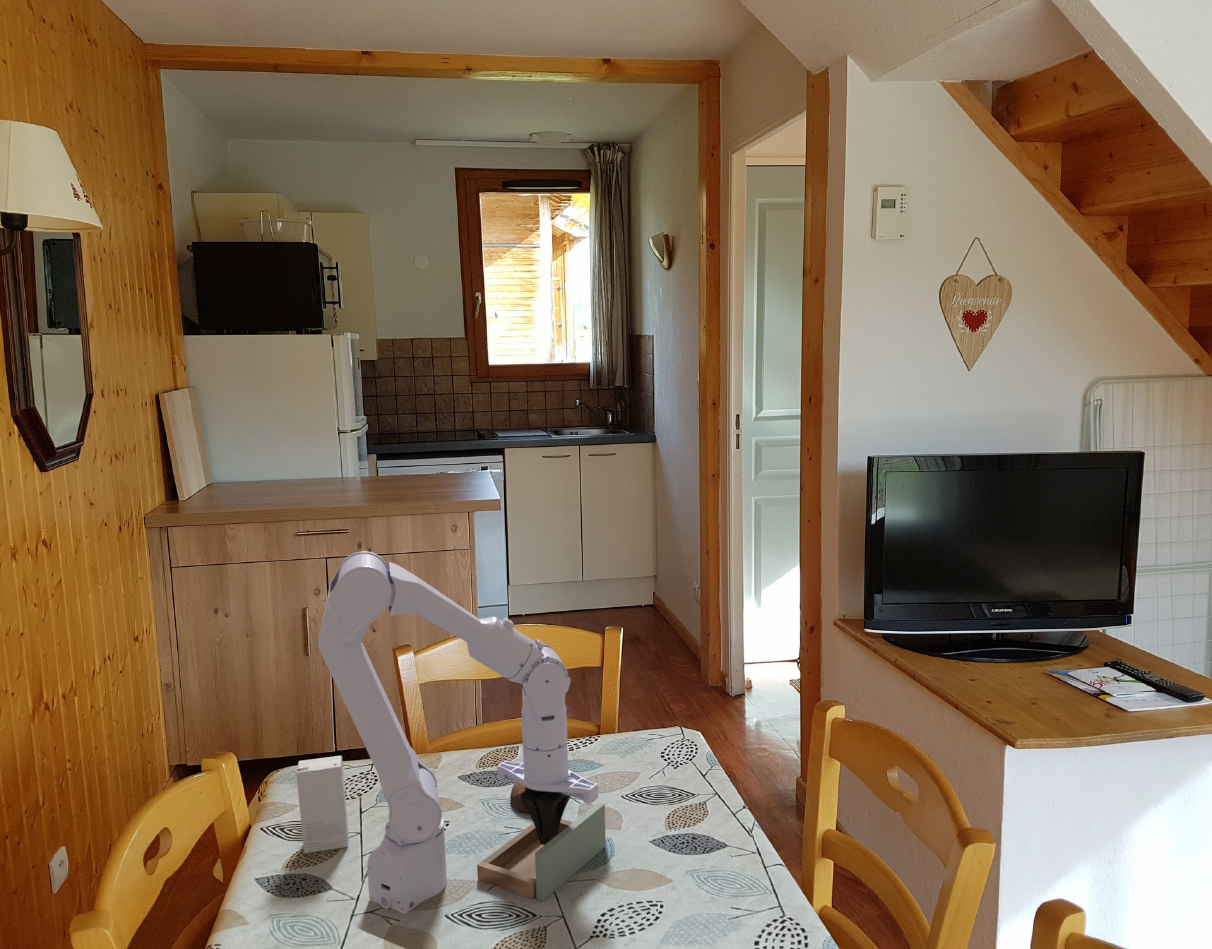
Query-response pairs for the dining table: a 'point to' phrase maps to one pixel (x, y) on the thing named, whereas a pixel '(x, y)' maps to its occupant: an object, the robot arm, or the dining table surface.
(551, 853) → the panel
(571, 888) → the dining table surface
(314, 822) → the skincare box
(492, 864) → the crate
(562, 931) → the dining table surface
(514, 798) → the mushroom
